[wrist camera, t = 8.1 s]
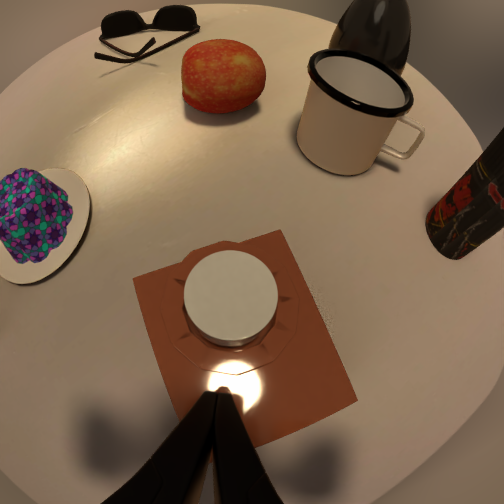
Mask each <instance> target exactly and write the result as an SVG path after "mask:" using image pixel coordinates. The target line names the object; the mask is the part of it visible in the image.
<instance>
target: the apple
mask: <svg viewBox="0 0 504 504" xmlns="http://www.w3.org/2000/svg"><path fill="white" fill-rule="evenodd" d="M181 79H182V95H183V98H184V100H185V101H186V102H187V103H188V104H189V105H191V106H192V107H194V108H195V109H197V110H200V111H203V112H209V113H228V112H233V111H236V110H240V109H242V108H245V107H247V106H248V105H250V104H251V103H253V102H254V101H255V100H256V99H257V98H258V97H259V96H260V95H261V93H262V91H263V89H264V87H265V80H266V70H265V66H264V64H263V61H262V59H261V57H260V56H259V55H258V54H257V52H256V51H254V50H253V49H252V48H251V47H249V46H247V45H245V44H243V43H240V42H237V41H234V40H227V39H215V40H209V41H204V42H201V43H198V44H196V45H194V46H192V47H191V48H189V49H188V50H187V51H186V53H185V54H184V56H183V59H182V70H181Z"/></svg>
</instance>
